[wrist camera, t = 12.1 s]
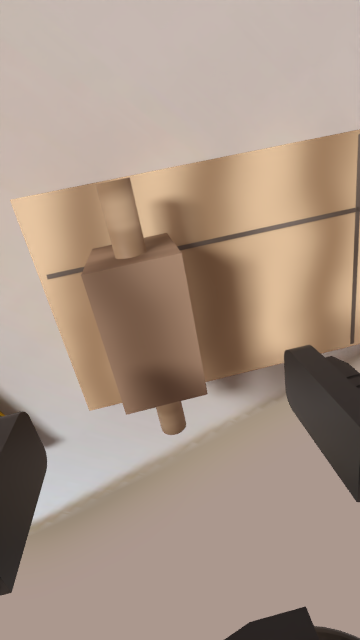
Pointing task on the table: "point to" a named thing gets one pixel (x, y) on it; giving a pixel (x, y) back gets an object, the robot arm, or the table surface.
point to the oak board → (221, 254)
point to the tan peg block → (144, 312)
